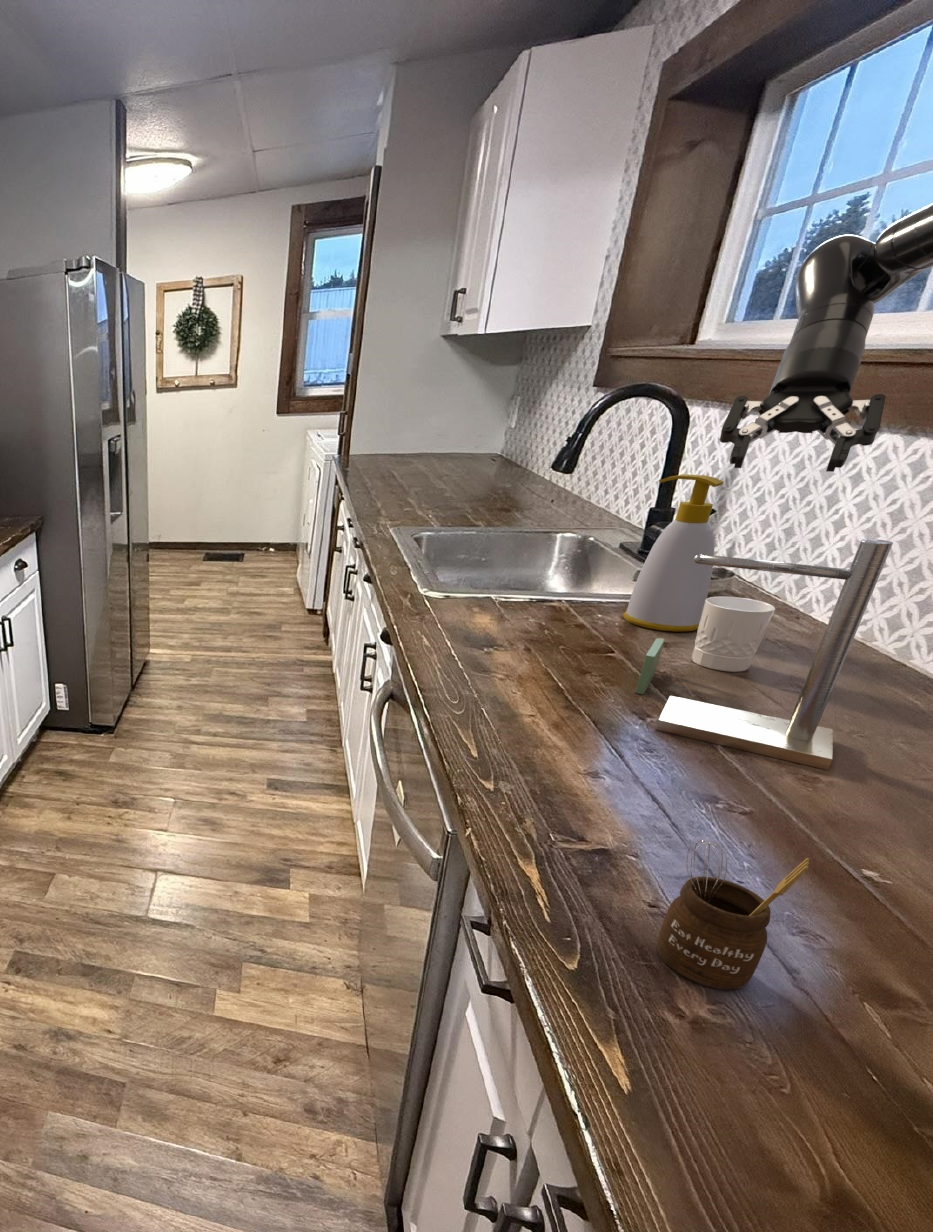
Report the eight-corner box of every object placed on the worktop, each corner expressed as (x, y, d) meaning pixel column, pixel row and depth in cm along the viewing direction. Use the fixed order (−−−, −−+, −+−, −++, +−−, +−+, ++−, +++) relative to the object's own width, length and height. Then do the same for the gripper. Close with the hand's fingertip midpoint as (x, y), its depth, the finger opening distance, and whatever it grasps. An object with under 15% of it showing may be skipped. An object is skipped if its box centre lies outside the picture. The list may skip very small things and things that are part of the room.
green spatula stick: (645, 655, 103) (659, 633, 110) (634, 692, 105) (648, 668, 113) (654, 656, 102) (667, 634, 110) (643, 694, 104) (656, 670, 112)
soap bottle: (636, 609, 138) (675, 470, 128) (712, 624, 129) (761, 475, 119) (608, 621, 133) (647, 477, 123) (685, 637, 124) (734, 483, 114)
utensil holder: (660, 927, 63) (701, 812, 58) (758, 965, 58) (811, 844, 54) (646, 964, 59) (689, 844, 54) (750, 1008, 55) (806, 882, 50)
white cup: (758, 677, 108) (781, 614, 104) (690, 668, 112) (710, 607, 108) (747, 659, 114) (768, 599, 110) (683, 651, 118) (701, 593, 114)
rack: (639, 726, 96) (698, 534, 86) (652, 701, 102) (708, 520, 92) (828, 770, 84) (921, 553, 74) (829, 739, 90) (915, 536, 81)
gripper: (749, 348, 97) (713, 445, 94) (908, 341, 87) (874, 448, 84) (740, 388, 102) (706, 481, 99) (889, 385, 92) (857, 488, 89)
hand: (783, 465), depth 91 cm, fingers open, 8 cm apart
